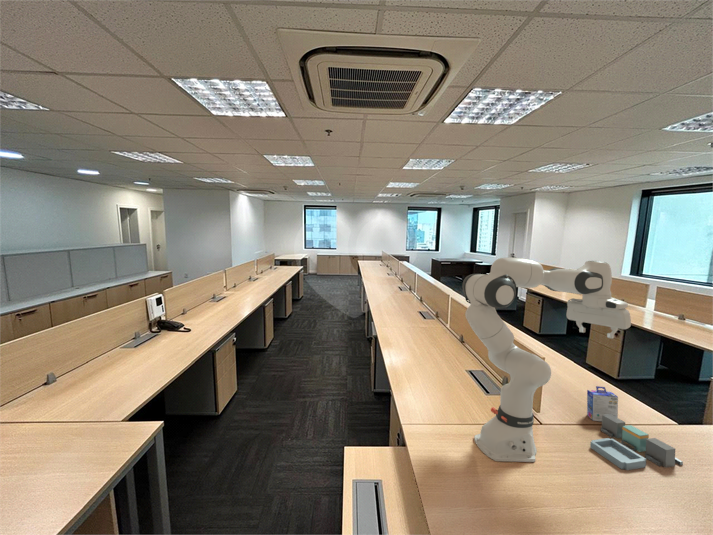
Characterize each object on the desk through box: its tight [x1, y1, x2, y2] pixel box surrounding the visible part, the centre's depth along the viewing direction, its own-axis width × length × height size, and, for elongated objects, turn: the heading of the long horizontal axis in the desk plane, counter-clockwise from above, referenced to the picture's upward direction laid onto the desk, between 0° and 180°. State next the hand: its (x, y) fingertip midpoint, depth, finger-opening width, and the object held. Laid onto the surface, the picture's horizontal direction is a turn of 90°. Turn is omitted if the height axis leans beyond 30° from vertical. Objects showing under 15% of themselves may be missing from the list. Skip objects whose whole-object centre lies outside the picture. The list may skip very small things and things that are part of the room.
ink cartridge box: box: [586, 385, 619, 422], centre depth 128 cm, size 10×6×14 cm, turn 76°
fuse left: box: [601, 414, 626, 439], centre depth 117 cm, size 4×6×6 cm, turn 9°
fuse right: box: [645, 437, 676, 469], centre depth 102 cm, size 4×6×6 cm, turn 9°
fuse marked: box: [621, 424, 650, 453], centre depth 109 cm, size 4×6×6 cm
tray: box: [589, 437, 647, 471], centre depth 104 cm, size 10×12×2 cm
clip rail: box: [600, 426, 684, 467], centre depth 110 cm, size 12×22×2 cm, turn 9°
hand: (595, 334), depth 112 cm, fingers open, 8 cm apart
